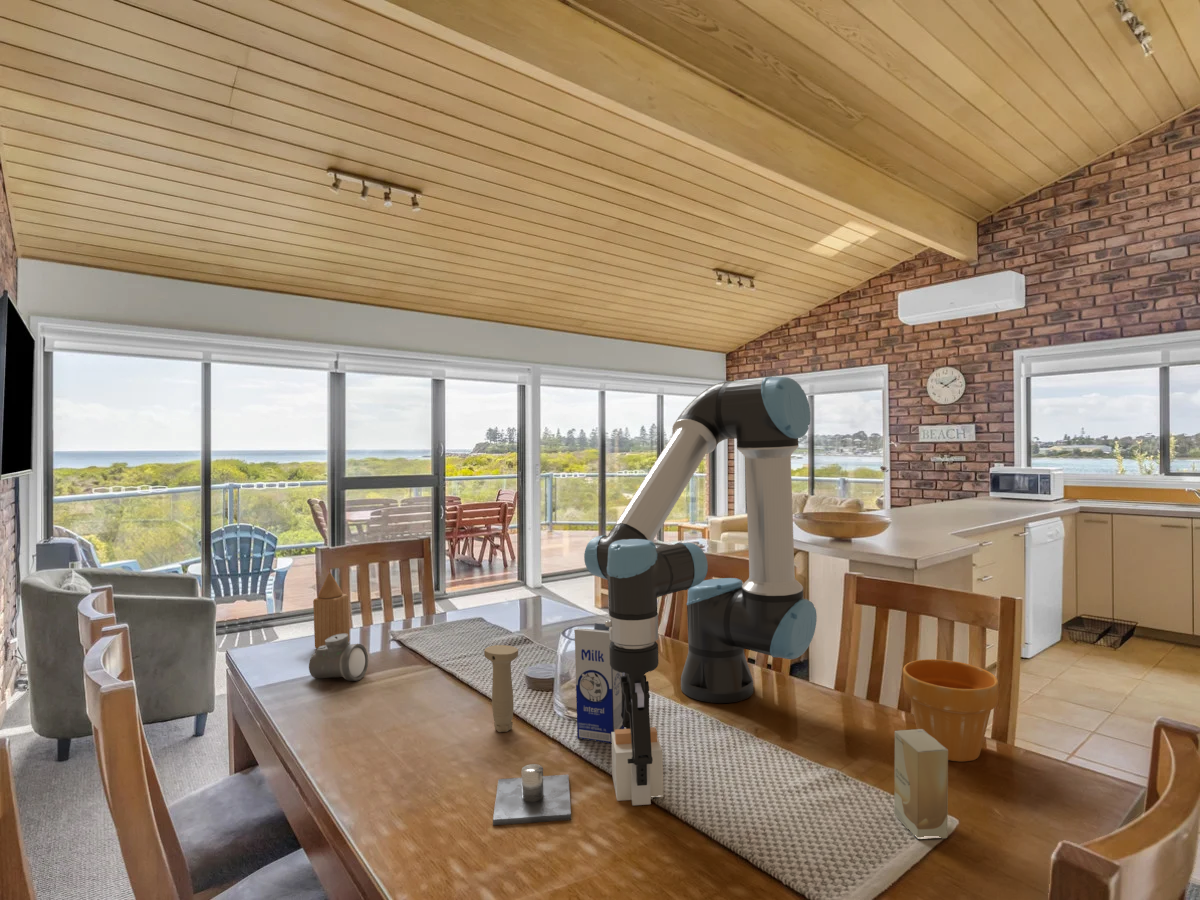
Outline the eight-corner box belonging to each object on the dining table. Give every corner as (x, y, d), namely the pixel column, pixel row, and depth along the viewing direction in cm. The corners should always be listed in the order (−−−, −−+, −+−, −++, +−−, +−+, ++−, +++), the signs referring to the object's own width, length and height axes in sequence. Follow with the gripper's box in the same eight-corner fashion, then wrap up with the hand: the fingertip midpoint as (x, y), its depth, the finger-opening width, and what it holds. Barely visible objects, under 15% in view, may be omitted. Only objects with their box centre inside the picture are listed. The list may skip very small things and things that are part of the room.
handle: (509, 738, 120) (507, 656, 119) (481, 731, 123) (479, 651, 122) (525, 727, 124) (522, 648, 123) (497, 720, 127) (495, 643, 127)
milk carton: (576, 738, 119) (573, 628, 118) (589, 722, 125) (587, 618, 125) (613, 744, 116) (610, 631, 116) (625, 727, 123) (622, 620, 122)
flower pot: (988, 736, 116) (987, 662, 115) (1009, 776, 102) (1008, 693, 102) (899, 726, 120) (898, 655, 120) (909, 763, 107) (908, 684, 107)
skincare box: (893, 814, 93) (891, 729, 93) (922, 812, 94) (921, 727, 93) (918, 842, 87) (917, 750, 86) (950, 840, 87) (949, 748, 87)
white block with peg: (655, 773, 106) (654, 719, 106) (663, 797, 99) (662, 739, 99) (612, 776, 105) (611, 722, 105) (617, 800, 98) (615, 742, 98)
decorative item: (313, 649, 173) (311, 573, 173) (328, 641, 180) (325, 568, 179) (337, 649, 172) (334, 573, 172) (350, 641, 179) (348, 568, 178)
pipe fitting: (373, 671, 155) (365, 629, 154) (352, 687, 147) (344, 642, 146) (329, 673, 158) (321, 632, 157) (307, 689, 150) (298, 645, 149)
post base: (568, 779, 105) (567, 749, 105) (571, 819, 94) (570, 786, 94) (498, 784, 104) (497, 754, 104) (493, 825, 93) (492, 791, 93)
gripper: (603, 622, 112) (606, 753, 113) (616, 667, 90) (620, 829, 91) (646, 620, 113) (649, 750, 113) (671, 664, 91) (674, 825, 91)
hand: (636, 785), depth 102 cm, fingers open, 9 cm apart
